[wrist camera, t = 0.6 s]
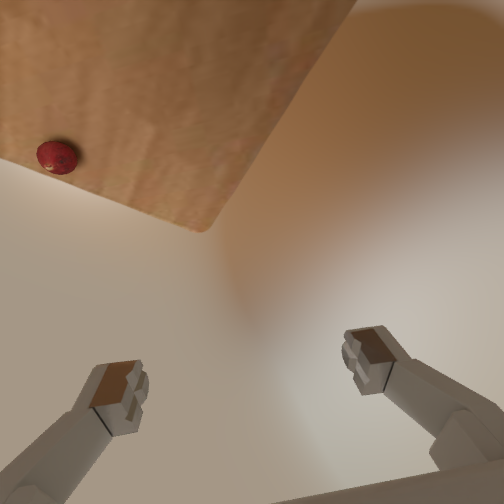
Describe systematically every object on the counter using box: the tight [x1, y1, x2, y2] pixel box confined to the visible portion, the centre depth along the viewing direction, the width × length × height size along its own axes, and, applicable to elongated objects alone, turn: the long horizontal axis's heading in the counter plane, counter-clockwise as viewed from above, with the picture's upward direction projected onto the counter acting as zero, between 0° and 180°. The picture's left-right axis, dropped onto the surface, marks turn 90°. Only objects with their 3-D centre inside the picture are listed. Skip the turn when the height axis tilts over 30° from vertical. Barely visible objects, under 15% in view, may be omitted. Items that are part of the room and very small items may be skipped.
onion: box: [36, 141, 77, 175], centre depth 44 cm, size 6×6×8 cm
